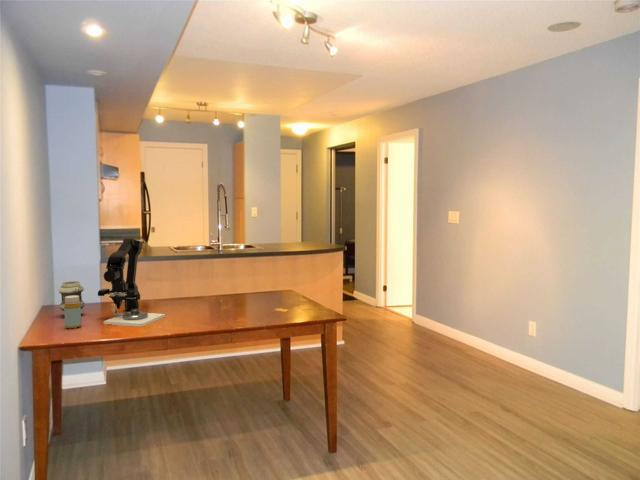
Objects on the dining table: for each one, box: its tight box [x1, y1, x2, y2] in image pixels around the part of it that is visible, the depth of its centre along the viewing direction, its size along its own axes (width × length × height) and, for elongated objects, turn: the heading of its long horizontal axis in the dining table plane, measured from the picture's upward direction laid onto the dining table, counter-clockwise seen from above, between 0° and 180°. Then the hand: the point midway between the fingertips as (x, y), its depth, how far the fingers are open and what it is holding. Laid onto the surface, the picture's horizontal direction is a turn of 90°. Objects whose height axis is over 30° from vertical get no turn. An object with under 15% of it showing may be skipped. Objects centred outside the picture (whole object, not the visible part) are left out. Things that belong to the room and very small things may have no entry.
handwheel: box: [110, 302, 149, 320], centre depth 253 cm, size 18×12×7 cm, turn 86°
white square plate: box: [103, 312, 166, 328], centre depth 253 cm, size 21×21×2 cm
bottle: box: [63, 295, 82, 329], centre depth 239 cm, size 7×7×15 cm
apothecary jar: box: [58, 280, 86, 318], centre depth 262 cm, size 12×12×18 cm
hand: (118, 308), depth 257 cm, fingers closed
